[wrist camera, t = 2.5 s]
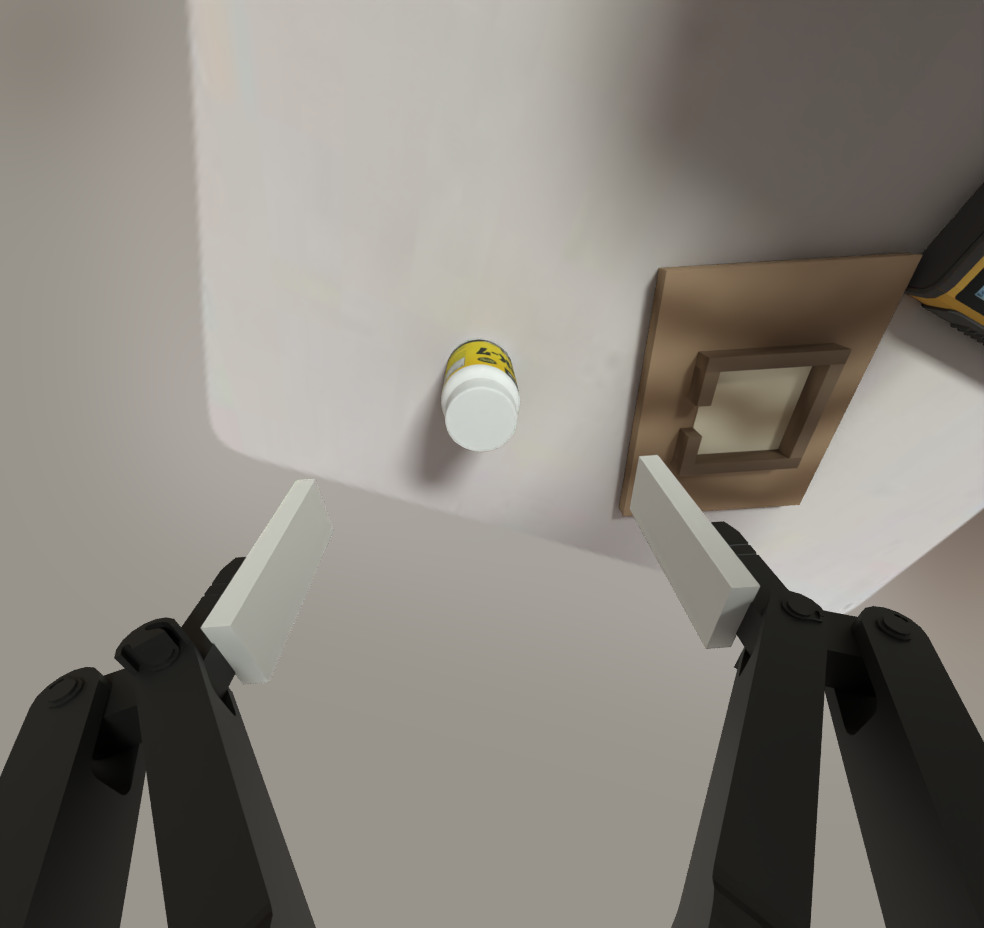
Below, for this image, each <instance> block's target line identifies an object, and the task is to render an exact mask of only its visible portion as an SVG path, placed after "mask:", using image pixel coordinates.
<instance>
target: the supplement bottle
mask: <svg viewBox="0 0 984 928" xmlns="http://www.w3.org/2000/svg"><path fill="white" fill-rule="evenodd" d="M441 407H442V411H443V414H444V416H445V424H446V428H447V431H448V433H449V435H450V436H451V438H452V439H453V440H454V441H455V442H456V443H457V444H458V445H460V446H461V447H463V448H465V449H468V450H471V451H476V452H486V451H491V450H494V449H497V448H499V447H501V446H502V445H504V444H505V443H506V442H507V441H508V440H509V439H510V438H511V437H512V435H513V433H514V431H515V429H516V425H517V415H518V412H519V407H520V397H519V391H518V387H517V383H516V379H515V375H514V371H513V367H512V363H511V360H510V358H509V356H508V354H507V352H506V351H505V350H504V349H503V348H502V347H501V346H500V345H498V344H497V343H495V342H493V341H490V340H487V339H481V338H477V339H471V340H468V341H465V342H463V343H462V344H460V345H459V346H458V347H457V348H456V349H455V350H454V351H453V352H452V354H451V355H450V357H449V360H448V363H447V369H446V373H445V379H444V384H443V389H442V395H441Z"/></svg>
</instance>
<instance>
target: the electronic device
mask: <svg viewBox="0 0 984 928" xmlns="http://www.w3.org/2000/svg"><path fill="white" fill-rule="evenodd" d="M921 255H922V257H921V259H920V261H919V263H918V265H917V267H916V269H915V271H914V273H913V276H912V278H911V280H910V282H909V284H908V286H907V288H906V290H905V292H904V293H906V294H907V295H910V296H912V297H913V298H915V299H917V300H919V301H920V302H922V303H924V304H923V305H922V307H924V308H926V309H927V310H929V311H931V312H932V313H934V314H936V315H938V316H939V317H941V318H943V319H945V320H946V321H948V322H950V323H951V327H954V328H957V330H958V331H961V332H964V334H965V335H969V336H970V337H971V338H973V339H977V341H978V342H980V343H983V345H984V183H983V184H982V185H981V187H980V188H979V189H978V190H977V191H976V192H975V193H974V195H973V196H972V197H971V198H970V199H969V200H968V201H967V203H966V204H965V205H964V206H963V207H962V208H961V209H960V211H959V212H958V213H957V214H956V215H955V216H954V218H953V219H952V220H951V221H950V222H949V223H948V224H947V226H946V227H945V228H944V229H943V230H942V231H941V232H940V234H939V235H938V236H937V237H936V238H935V239H934V241H933V242H932V243H931V244H930V245H929V246H928V247H927V249H926V250H925V251H924V252H923V253H922V254H921Z"/></svg>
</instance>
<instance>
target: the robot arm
mask: <svg viewBox="0 0 984 928" xmlns="http://www.w3.org/2000/svg"><path fill="white" fill-rule="evenodd" d="M630 511H631V512H632V514H633V516H634V518H635V520H636V522H637V523H638V525H639V527H640V529H641V531H642V533H643V534H644V536H645V538H646V540H647V542H648V544H649V545H650V547H651V549H652V551H653V553H654V555H655V556H656V558H657V560H658V562H659V564H660V566H661V567H662V569H663V571H664V573H665V575H666V577H667V578H668V580H669V582H670V584H671V586H672V587H673V589H674V591H675V593H676V595H677V597H678V599H679V601H680V602H681V604H682V606H683V608H684V610H685V611H686V613H687V615H688V617H689V619H690V621H691V623H692V624H693V626H694V628H695V630H696V632H697V634H698V635H699V637H700V639H701V641H702V643H703V645H704V646H705V648H706V649H709V648H723V647H731V646H732V644H733V641H734V639H735V637H736V635H737V636H738V637H739V639H740V640H741V642H742V644H743V645H744V649H743V651H742V653H741V655H740V657H739V659H738V660H737V662H736V664H735V666H734V667H735V668H736V669H737V673H736V677H735V681H734V685H733V689H732V693H731V697H730V702H729V705H728V710H727V714H726V718H725V722H724V726H723V730H722V734H721V738H720V742H719V746H718V751H717V755H716V758H715V763H714V767H713V771H712V775H711V779H710V783H709V787H708V791H707V795H706V799H705V803H704V807H703V811H702V816H701V820H700V824H699V828H698V832H697V836H696V841H695V844H694V848H693V852H692V857H691V860H690V864H689V869H688V873H687V877H686V881H685V885H684V889H683V893H682V897H681V901H680V905H679V908H678V912H677V914H676V917H675V920H674V922H673V924H672V927H671V928H810V922H811V906H812V888H813V873H814V856H815V840H816V823H817V807H818V790H819V774H820V757H821V740H822V724H823V707H824V691H825V694H826V698H827V702H828V705H829V709H830V712H831V717H832V721H833V725H834V728H835V732H836V736H837V740H838V744H839V748H840V751H841V756H842V760H843V763H844V767H845V771H846V775H847V779H848V783H849V786H850V790H851V794H852V798H853V802H854V806H855V809H856V813H857V817H858V821H859V825H860V829H861V833H862V837H863V841H864V844H865V848H866V852H867V856H868V860H869V864H870V868H871V872H872V875H873V879H874V883H875V887H876V891H877V894H878V898H879V902H880V906H881V910H882V914H883V918H884V921H885V926H886V928H984V742H983V740H982V738H981V736H980V734H979V732H978V730H977V728H976V727H975V725H974V723H973V721H972V719H971V717H970V715H969V713H968V711H967V709H966V708H965V706H964V704H963V702H962V700H961V698H960V696H959V694H958V692H957V691H956V689H955V687H954V685H953V683H952V681H951V679H950V677H949V675H948V673H947V672H946V670H945V668H944V666H943V664H942V662H941V660H940V658H939V656H938V654H937V653H936V651H935V649H934V647H933V645H932V643H931V641H930V639H929V637H928V636H927V635H926V633H925V632H924V631H923V630H922V628H921V627H920V626H918V625H917V624H916V623H915V622H913V621H912V620H911V619H909V618H907V617H906V616H904V615H902V614H900V613H898V612H896V611H893V610H890V609H887V608H884V607H876V606H872V607H868V608H865V609H864V610H863V611H862V612H861V614H860V615H859V616H858V617H855V616H849V615H844V614H839V613H834V612H828V611H824V610H823V609H822V608H821V607H820V606H819V605H818V604H816V603H815V602H814V601H813V600H811V599H809V598H807V597H805V596H803V595H802V594H799V593H795V592H792V591H789V590H788V589H787V588H786V587H785V586H784V584H783V583H782V582H781V581H780V580H779V579H778V577H777V576H776V575H775V574H774V573H773V572H772V570H771V569H770V568H769V567H768V566H767V564H766V563H765V562H764V561H763V560H762V559H761V557H760V556H759V555H757V554H756V551H755V550H754V549H753V548H752V547H751V546H750V545H748V542H747V541H746V540H745V539H744V537H743V536H742V535H741V534H740V533H739V531H737V530H736V529H734V528H733V527H731V526H730V525H728V524H727V523H725V522H724V521H723V522H710V521H709V520H708V518H707V517H706V516H705V515H704V513H703V512H702V511H701V510H700V508H699V507H698V506H697V504H696V503H695V502H694V501H693V499H692V498H691V497H690V495H689V494H688V493H687V492H686V490H685V489H684V488H683V487H682V485H681V484H680V483H679V481H678V480H677V479H676V478H675V476H674V475H673V474H672V472H671V471H670V470H669V469H668V467H667V466H666V465H665V464H664V462H663V461H662V460H661V458H660V457H659V456H658V455H650V456H639V460H638V465H637V471H636V476H635V482H634V487H633V493H632V498H631V504H630ZM333 531H334V529H333V526H332V523H331V520H330V518H329V515H328V513H327V509H326V507H325V504H324V501H323V498H322V496H321V493H320V490H319V487H318V485H317V482H316V479H306V480H296V481H295V483H294V485H293V486H292V488H291V489H290V491H289V492H288V494H287V495H286V497H285V499H284V500H283V502H282V503H281V505H280V506H279V508H278V509H277V511H276V513H275V514H274V516H273V517H272V518H271V520H270V522H269V523H268V525H267V526H266V528H265V529H264V531H263V532H262V534H261V535H260V537H259V539H258V540H257V542H256V543H255V545H254V546H253V548H252V550H251V551H250V553H249V554H248V556H247V557H238V558H235V559H234V560H232V561H231V562H230V563H229V564H228V565H226V566H225V567H224V568H223V569H222V570H221V571H220V572H219V574H218V575H217V577H216V578H215V580H214V581H213V583H212V586H210V587H209V588H208V590H207V591H206V593H205V596H204V597H202V598H201V600H200V601H199V603H198V604H197V606H196V607H195V608H194V610H193V611H192V613H191V614H190V616H189V617H188V619H187V620H186V621H185V623H184V624H183V626H182V627H180V626H179V624H178V623H177V622H176V621H175V619H171V618H160V619H155V620H153V621H150V622H148V623H145V624H143V625H142V626H140V627H139V628H137V629H135V630H134V631H132V632H131V633H130V634H129V635H128V636H127V637H126V638H125V639H124V640H123V641H122V642H121V643H120V645H119V646H118V648H117V649H116V653H115V657H114V658H115V659H116V660H117V661H118V662H119V663H120V664H121V665H122V666H123V667H124V668H125V669H122V670H119V671H116V672H113V673H110V674H107V675H104V676H103V675H102V674H101V673H100V672H99V671H98V670H96V669H95V668H93V667H84V668H80V669H77V670H74V671H71V672H69V673H67V674H66V675H63V676H62V677H60V678H58V679H57V680H56V681H54V682H53V683H51V684H50V685H49V686H47V687H46V688H45V689H44V690H43V691H42V692H41V693H40V694H39V695H38V696H37V697H36V699H35V700H34V702H33V704H32V705H31V707H30V709H29V711H28V713H27V716H26V718H25V720H24V723H23V725H22V727H21V730H20V732H19V734H18V736H17V739H16V741H15V744H14V746H13V748H12V751H11V753H10V755H9V758H8V760H7V762H6V764H5V767H4V769H3V771H2V774H1V776H0V928H120V923H121V917H122V911H123V905H124V899H125V893H126V887H127V881H128V875H129V869H130V863H131V857H132V851H133V845H134V839H135V833H136V827H137V821H138V815H139V809H140V803H141V797H142V790H143V785H144V778H145V773H147V780H148V787H149V794H150V801H151V809H152V816H153V823H154V830H155V837H156V844H157V852H158V858H159V866H160V872H161V880H162V887H163V894H164V901H165V909H166V915H167V923H168V928H316V927H315V924H314V921H313V919H312V916H311V913H310V910H309V907H308V904H307V902H306V899H305V896H304V893H303V890H302V887H301V885H300V882H299V879H298V876H297V873H296V870H295V868H294V865H293V862H292V859H291V856H290V854H289V851H288V848H287V845H286V843H285V839H284V837H283V834H282V831H281V828H280V825H279V822H278V820H277V817H276V814H275V811H274V808H273V806H272V803H271V800H270V797H269V794H268V791H267V789H266V786H265V783H264V780H263V777H262V774H261V772H260V769H259V766H258V764H257V760H256V757H255V755H254V752H253V749H252V746H251V743H250V740H249V738H248V735H247V732H246V729H245V726H244V723H243V721H242V718H241V715H240V712H239V709H238V706H237V704H236V701H235V698H234V695H233V692H232V691H231V690H230V689H229V685H230V683H231V681H232V679H233V677H234V675H236V676H237V677H238V679H239V680H240V681H241V682H242V684H256V683H269V681H270V679H271V677H272V674H273V672H274V669H275V667H276V665H277V662H278V660H279V658H280V655H281V653H282V651H283V648H284V646H285V644H286V641H287V639H288V637H289V634H290V632H291V630H292V627H293V625H294V623H295V620H296V618H297V616H298V613H299V611H300V608H301V606H302V604H303V602H304V599H305V597H306V595H307V592H308V590H309V587H310V585H311V583H312V580H313V578H314V576H315V573H316V571H317V569H318V566H319V564H320V562H321V559H322V557H323V555H324V552H325V550H326V548H327V545H328V543H329V541H330V538H331V536H332V534H333Z"/></svg>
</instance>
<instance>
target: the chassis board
mask: <svg viewBox="0 0 984 928" xmlns="http://www.w3.org/2000/svg"><path fill="white" fill-rule="evenodd" d="M921 257H922V255H921V254H911V253H895V254H879V255H863V256H846V257H830V258H814V259H797V260H781V261H765V262H748V263H732V264H716V265H700V266H683V267H667V268H659V271H658V277H657V283H656V289H655V295H654V301H653V307H652V313H651V319H650V325H649V331H648V337H647V343H646V349H645V355H644V361H643V367H642V373H641V379H640V385H639V391H638V397H637V403H636V409H635V415H634V421H633V427H632V433H631V439H630V445H629V451H628V457H627V463H626V469H625V475H624V481H623V487H622V493H621V499H620V505H619V509H620V511H621V513H622V515H623V516H633V514H632V512H631V511H630V504H631V498H632V493H633V487H634V482H635V476H636V471H637V465H638V460H639V456H650V455H658V456H659V457H660V458H661V460H662V461H663V462H664V464H665V465H666V466H667V467H668V469H669V470H670V471H671V472H672V474H673V475H674V476H675V478H676V479H677V480H678V481H679V483H680V484H681V485H682V487H683V488H684V489H685V490H686V492H687V493H688V494H689V495H690V497H691V498H692V499H693V501H694V502H695V503H696V504H697V506H698V507H699V508H700V510H701V511H713V510H728V509H743V508H758V507H773V506H788V505H800V503H801V500H802V498H803V496H804V494H805V492H806V490H807V488H808V486H809V484H810V482H811V480H812V478H813V476H814V474H815V472H816V470H817V468H818V466H819V464H820V462H821V460H822V458H823V456H824V454H825V452H826V450H827V448H828V446H829V444H830V442H831V440H832V438H833V436H834V434H835V432H836V430H837V428H838V425H839V423H840V421H841V419H842V417H843V415H844V413H845V411H846V409H847V407H848V405H849V403H850V401H851V399H852V397H853V395H854V393H855V391H856V389H857V387H858V385H859V383H860V381H861V379H862V377H863V375H864V373H865V371H866V369H867V367H868V365H869V363H870V361H871V359H872V357H873V355H874V353H875V351H876V348H877V346H878V344H879V342H880V340H881V338H882V336H883V334H884V332H885V330H886V328H887V326H888V324H889V322H890V320H891V318H892V316H893V314H894V312H895V310H896V308H897V306H898V304H899V302H900V300H901V298H902V296H903V294H904V292H905V290H906V288H907V286H908V284H909V282H910V280H911V278H912V276H913V273H914V271H915V269H916V267H917V265H918V263H919V261H920V259H921Z"/></svg>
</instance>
